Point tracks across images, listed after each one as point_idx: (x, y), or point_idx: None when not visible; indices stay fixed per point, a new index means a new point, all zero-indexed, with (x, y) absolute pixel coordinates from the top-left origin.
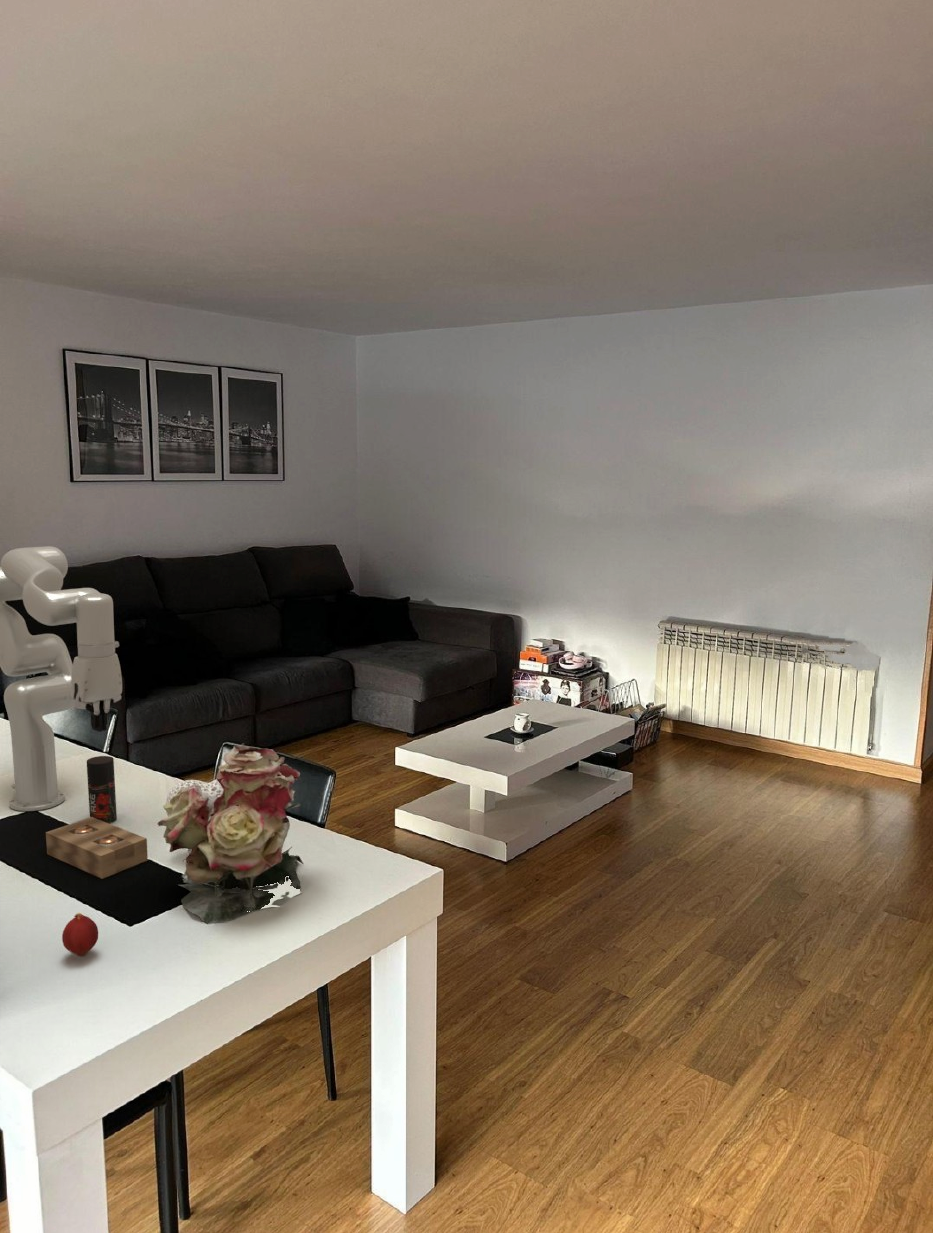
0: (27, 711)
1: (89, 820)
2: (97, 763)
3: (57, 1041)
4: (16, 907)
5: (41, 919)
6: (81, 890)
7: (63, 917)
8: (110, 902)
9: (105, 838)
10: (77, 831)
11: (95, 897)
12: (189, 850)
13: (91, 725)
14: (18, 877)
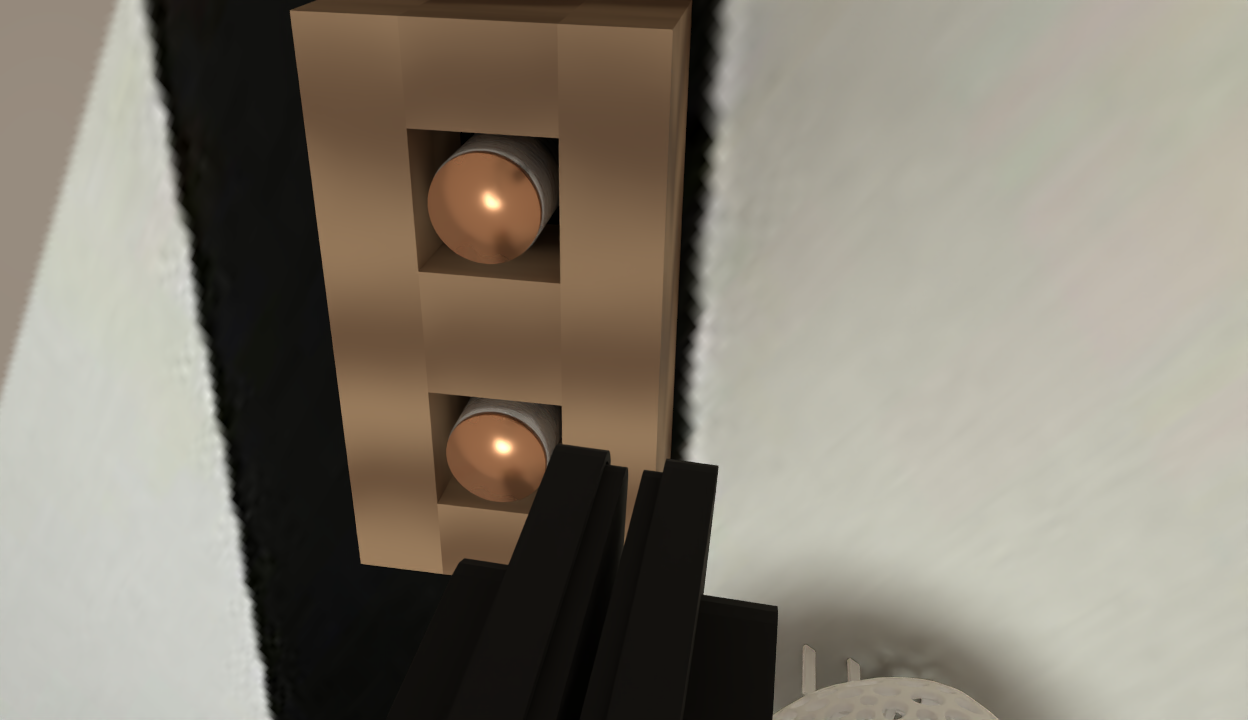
0: None
1: (617, 83)
2: None
3: None
4: (26, 397)
5: (75, 549)
6: (288, 495)
7: (143, 599)
8: (322, 653)
9: (493, 434)
10: (438, 204)
11: (300, 583)
12: (807, 678)
13: (458, 573)
14: (121, 136)
